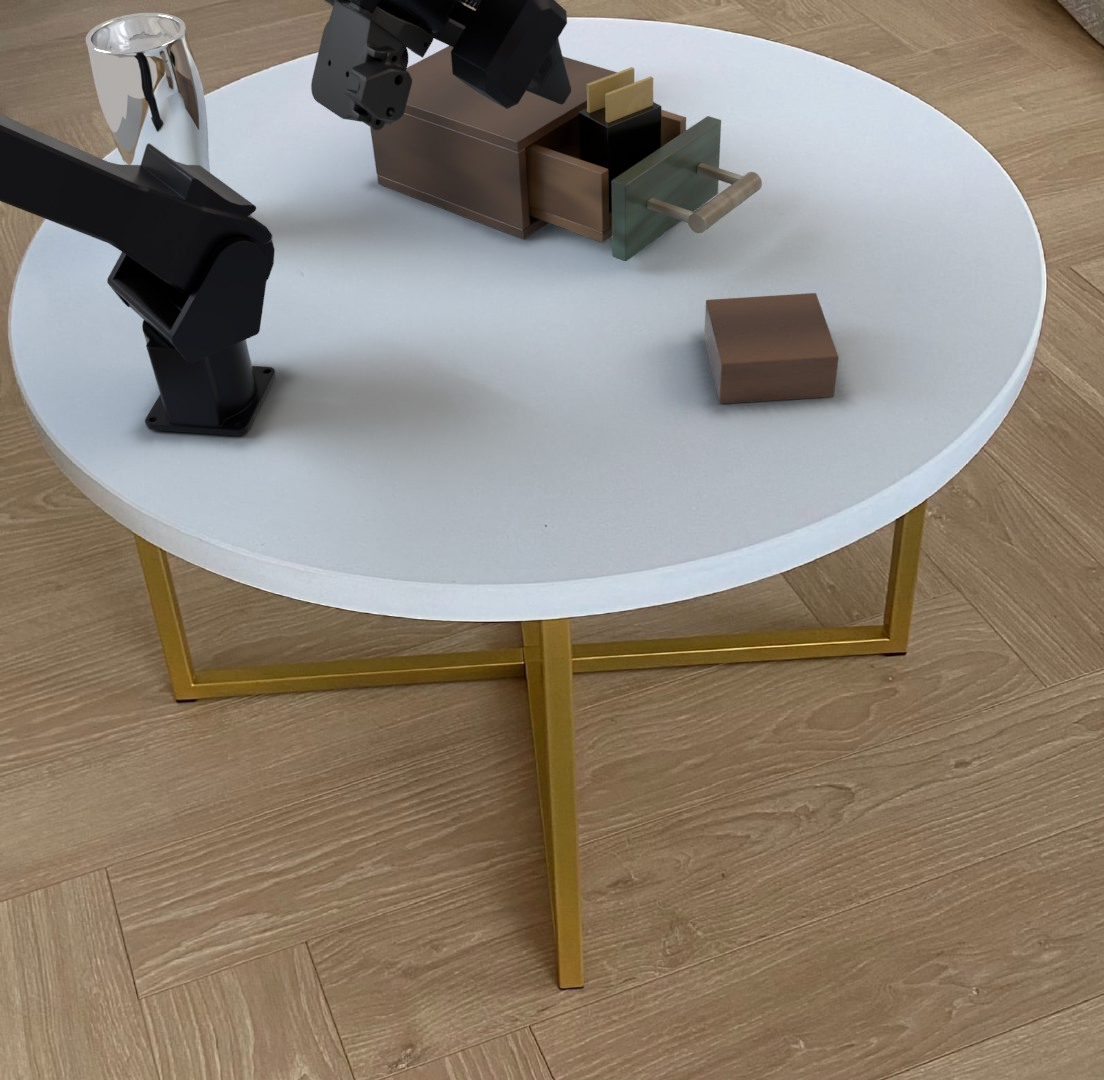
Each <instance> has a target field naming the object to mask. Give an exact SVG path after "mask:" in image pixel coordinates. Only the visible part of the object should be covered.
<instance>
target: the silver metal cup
mask: <svg viewBox="0 0 1104 1080" xmlns="http://www.w3.org/2000/svg"><path fill="white" fill-rule="evenodd" d="M186 27H187V26H186V24H185V22H184V20H182V19H181V18H180V17H178V16H175V15H172V14H168V13H162V12H137V13H132V14H131V13H130V14H126V15H121V16H117V17H114V18H111V19H109V20H106V21H104V22H100V23H99V24H97V25H95V26H94V27H93V28H92V29H90V30H89V32H87V34H86V36H85V43H86V47H87V51H88V57H89V62H90V67H91V72H92V77H93V82H94V87H95V90H96V94H97V98H98V102H99V105H100V108H101V111H102V115H103V117H104V121H105V123H106V125H107V127H108V130H109V133H110V135H111V137H112V139H113V142H114V144H115V146H116V148H117V151H118V152H119V154H120V156H121V158H122V160H123V162H124V165H141V162H142V159H143V155H144V152H145V149H146V145H147V144H148V143H150V144H151V145H153V146H154V147H155V148H157V149H158V150H159V151H161V152H162V153H164V154H165V155H166V156H168V157H169V158H171V159H172V160H174V161H176V162H179V163H182V164H185V165H200V166H201V167H203V168H204V169H206V170H207V171H208V172H210V173H211V167H210V166H211V165H210V150H209V149H210V147H209V145H210V144H209V128H208V126H209V125H208V115H207V104H206V97H205V93H204V88H203V83H202V79H201V76H200V75H201V74H200V71H199V67H198V64H197V61H196V58H195V54H194V50H193V47H192V45H191V42H190V38H189V36H188V31H187V29H186Z"/></svg>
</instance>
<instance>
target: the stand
mask: <svg viewBox="0 0 1104 1080" xmlns="http://www.w3.org/2000/svg"><path fill="white" fill-rule="evenodd" d="M817 294H818V293H816V292H811V293H810V292H807V293H794V294H793V293H792V294H791V293H790V294H778V295H777V294H776V295H761V296H747V297H731V298H730V297H729V298H715V299H713V298H712V299H706V300H705V312H704V313H705V314H704V315H705V316H704V334H703V335H704V337H703V339H704V343H705V347H706V351H707V356H708V360H709V365H710V370H711V373H712V377H713V381H714V386H715V390H716V394H717V395H716V396H717V398H718V399H717V400H718V403H719V404H720V405H726V404H738V403H739V404H740V403H742V404H743V403H754V402H757V403H758V402H770V401H771V402H772V401H787V400H800V399H801V400H802V399H803V400H804V399H816V398H817V399H819V398H832V397H833V398H834V396H835V390H836V382H837V374H838V366H839V354H838V351H837V348H836V345H835V342H834V339H833V337H832V334H831V331H830V329H829V325H828V323H827V320H826V317H825V314H824V311H823V309H822V306H821V303H820V300H819V297H818V295H817Z"/></svg>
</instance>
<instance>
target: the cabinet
mask: <svg viewBox="0 0 1104 1080" xmlns="http://www.w3.org/2000/svg"><path fill="white" fill-rule="evenodd" d="M452 49H453V47H452V46H449V45H448V46H446V47H444V48H442V49H440V50H438V51H436V52H434V53H432V54H430V55H428V56H426V57H425V58H423V59H420V60H419V61H417V62H416V63H413V64H410V65H408V66H407V69H406V71H407V72H409V74H410V76H411V78H412V85H411V89H410V93H409V96H408V100H407V104H406V108H405V111H404V115H403V116H402V117H401V118H400V119H399V120H397V121H396V122H393V123H392V124H391V125H384V127H383V128H382V129H380V130H374V129H373V128H371V127H370V126H369V129H370V136H371V144H372V150H373V158H374V165H375V172H376V178H377V184H378V185H381V186H383V187H386V188H388V189H390V190H394V191H396V192H399V193H402V194H404V195H406V196H409V197H411V198H414V199H417V200H420V201H422V202H425V203H427V204H430V205H432V206H435V207H437V208H441V209H443V210H446V211H448V212H451V213H453V214H456V215H457V216H461V217H463V218H467V219H468V220H472V221H475V222H476V223H479V224H481V225H485V226H488V227H490V228H492V229H494V230H498V231H500V232H503V233H505V234H508V235H511V236H513V237H515V238H519V239H521V240H525V239H527V238H528V237H530V236H532V235H533V234H534V233H536V232H537V231H539V230H540V229H542V228H543V227H544V226H546V225H547V224H549V223H548V222H546V221H543V220H540V219H538V218H535V217H532V216H529V205H528V188H527V171H526V154H525V147H527V146H529V145H530V144H532V143H534V142H535V141H537V140H539V139H540V138H542V137H543V136H545V135H547V134H548V133H550V132H552V131H553V130H555V129H556V128H558V127H560V126H561V125H563V124H565V123H566V122H568V121H569V120H571V119H573V118H574V117H576V116H578V115H579V111H582V110H585V109H587V84H588V83H591V82H594V81H596V80H599V79H602V78H604V77H607V76H609V75H612V74H615V73H617V72H618V71H614V70H612V69H611V70H610V69H607V68H604V67H601V66H597V65H593V64H592V63H587V62H584V61H580V60H578V59H577V60H576V59H573V58H570V57H567V56H563V60H564V63H565V67H566V71H567V74H568V78H569V82H570V85H571V93H570V95H569V96H568V98H567V100H566V101H565V103H564V104H562V105H561V104H558V103H556V102H553V101H551V100H548V99H546V98H543V97H541V96H538V95H536V94H533V93H531V92H528V91H525V93H524V95H523V96H522V98H521V100H520V101H519V103H518V104H516V105H514V106H512V107H510V108H508V109H506V108H504V107H502V106H501V105H499V104H497V103H495V102H494V101H492V100H490V99H489V98H487V97H485V96H483V95H482V94H480V93H478V92H477V91H475V90H474V89H473V88H471V87H470V86H468V85H467V84H465V83H464V82H462V81H461V80H460V79H458V78H457V77H456V76H454V75H453V74H452V61H451V51H452Z"/></svg>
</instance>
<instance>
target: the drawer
mask: <svg viewBox="0 0 1104 1080" xmlns="http://www.w3.org/2000/svg"><path fill="white" fill-rule="evenodd" d="M721 133H722V119H720V118H717V117H712V116H710V115H707V116H705V117H703V118H702V119H701V120H699V121H698V122H696V123H695V124H693V125H691V126H690V127H689V128H687V117H686V116H683V115H680V114H677V113H674V112H671V111H668V110H664V109H662V113H661V148H659V149H658V150H656V151H655V152H653V153H652V154H650V155H649V156H647V157H646V158H644V159H643V160H641V161H640V162H638V163H637V164H635V165H634V166H632V167H631V168H629V169H628V170H627V171H625V172H624V173H622V174H621V175H619V176H618V177H616V178H615V179H613V180H612V181H611V185H612V212H611V213H609V184H608V169H606V168H604V167H601V166H598V165H595V164H592V163H589V162H586V161H583V160H580V139H579V115H578V116H576V117H574V118H573V119H571V120H569V121H568V122H566V123H565V124H563V125H561V126H560V127H558V128H556V129H555V130H553V131H552V132H550V133H548V134H547V135H545V136H543V137H542V138H540V139H539V140H537V141H535V142H534V143H532V144H530V145H529V146H527V147H525V154H526V171H527V188H528V205H529V216H532V217H535V218H538V219H540V220H543V221H546V222H548V224H551V225H554V226H557V227H559V228H562V229H565V230H568V231H570V232H572V233H576V234H578V235H581V236H583V237H586V238H589V239H591V240H595V241H597V242H600V243H605V242H606V241H608V240H609V239H610V238H611V252H612V254H611V256H612V258H616V259H618V260H620V261H623V262H627V261H629V260H630V259H631V258H634V256H636V255H637V254H638V253H640V252H642V251H643V250H644V249H645V248H647V247H648V246H649V245H650V244H652V243H653V242H655V241H657V240H658V239H659V238H660V237H661V236H663V235H664V234H665V233H667V232H668V231H669V230H671V229H673V227H675V226H677V225H678V224H679V223H681V222H685V223H687V224H688V227H689V228H690V230H691V231H692V232H693V233H695V234H703V233H704V232H705V231H707V230H708V229H709V228H711V227H712V226H713V225H715V224H716V223H717V222H719V221H720V220H722V218H724V217H726V216H727V215H728V214H729V213H730V212H732V211H734V209H736V208H737V207H738V206H740V205H741V204H743V203H744V202H746V200H748V199H749V198H751V197H752V196H753V195H755V194H756V193H757V192H758V191H759V190H761V189H762V186H763V181H762V180H763V179H762V178H761V176H760V175H759V174H758V173H756V172H755V171H749V172H747V173H745V174H744V175H741V174H738V173H734V172H733V171H729V170H726V169H723V168H720V159H721V158H720V157H721V156H720V155H721ZM719 181H720V182H723V183H726V184H729V186H728V187H726V188H725V189H724V190H722V191H721V192H720V193H719Z"/></svg>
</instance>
